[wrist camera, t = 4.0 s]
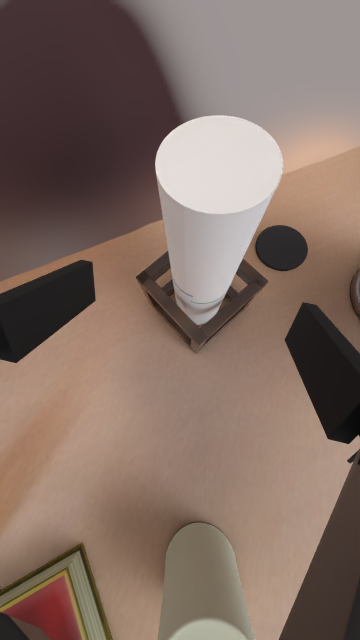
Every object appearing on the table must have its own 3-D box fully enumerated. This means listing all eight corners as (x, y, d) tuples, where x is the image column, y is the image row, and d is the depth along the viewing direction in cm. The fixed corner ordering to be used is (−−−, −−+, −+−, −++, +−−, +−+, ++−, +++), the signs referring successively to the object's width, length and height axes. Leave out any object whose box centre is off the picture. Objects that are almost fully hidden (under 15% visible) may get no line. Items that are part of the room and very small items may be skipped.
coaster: (316, 249, 38) (318, 247, 37) (283, 280, 37) (284, 279, 36) (278, 218, 40) (279, 216, 39) (245, 247, 38) (246, 245, 38)
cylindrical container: (190, 278, 37) (197, 99, 13) (226, 298, 36) (304, 143, 12) (168, 310, 36) (130, 178, 12) (204, 333, 35) (244, 236, 10)
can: (151, 553, 27) (125, 684, 16) (206, 505, 29) (220, 594, 17) (193, 631, 25) (199, 847, 14) (251, 576, 27) (301, 732, 15)
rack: (246, 306, 36) (268, 281, 26) (196, 353, 34) (199, 345, 24) (198, 261, 38) (202, 222, 28) (149, 303, 36) (135, 277, 27)
